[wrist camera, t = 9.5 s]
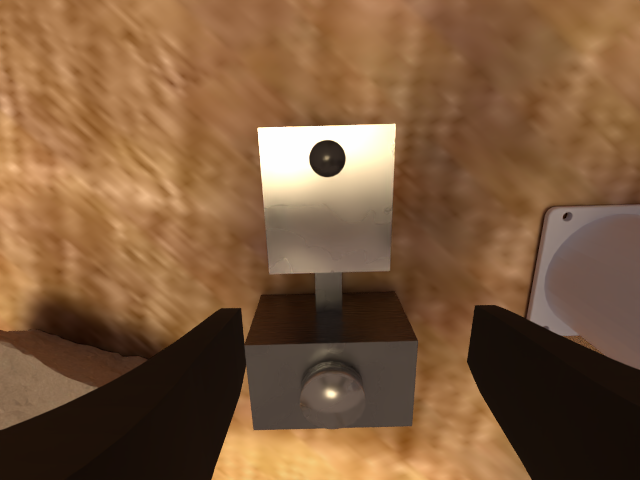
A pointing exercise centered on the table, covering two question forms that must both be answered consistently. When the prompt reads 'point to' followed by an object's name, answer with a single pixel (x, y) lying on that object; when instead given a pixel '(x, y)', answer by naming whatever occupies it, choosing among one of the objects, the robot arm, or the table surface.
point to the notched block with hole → (328, 197)
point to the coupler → (331, 359)
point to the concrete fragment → (51, 373)
